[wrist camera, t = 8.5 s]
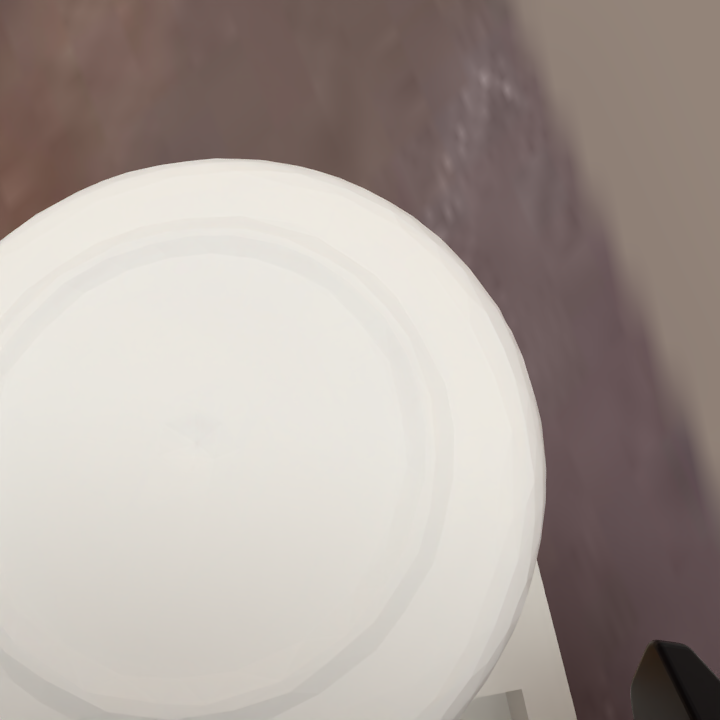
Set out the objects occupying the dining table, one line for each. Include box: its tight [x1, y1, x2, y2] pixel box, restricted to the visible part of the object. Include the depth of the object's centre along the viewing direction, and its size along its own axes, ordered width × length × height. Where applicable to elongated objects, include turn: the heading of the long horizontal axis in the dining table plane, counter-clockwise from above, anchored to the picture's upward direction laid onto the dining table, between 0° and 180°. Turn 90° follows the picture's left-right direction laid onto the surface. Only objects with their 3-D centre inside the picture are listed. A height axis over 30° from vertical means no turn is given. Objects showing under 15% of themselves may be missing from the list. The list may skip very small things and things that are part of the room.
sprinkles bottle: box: [0, 159, 546, 720], centre depth 10 cm, size 5×5×13 cm
